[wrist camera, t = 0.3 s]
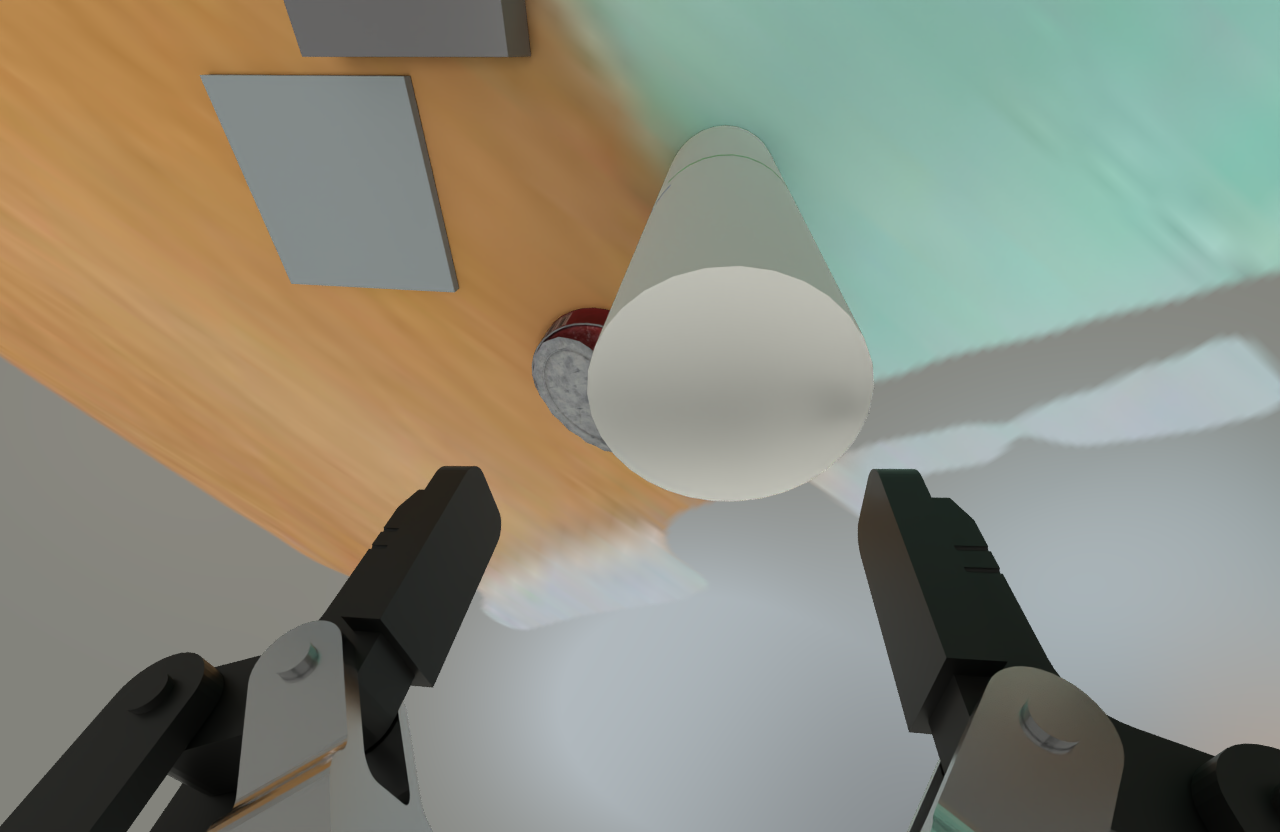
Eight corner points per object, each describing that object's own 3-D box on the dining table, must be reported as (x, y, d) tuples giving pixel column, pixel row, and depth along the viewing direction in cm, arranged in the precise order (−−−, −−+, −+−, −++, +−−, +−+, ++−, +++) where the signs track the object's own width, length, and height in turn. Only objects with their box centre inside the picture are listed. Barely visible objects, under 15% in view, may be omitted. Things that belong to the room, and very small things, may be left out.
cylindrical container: (646, 202, 34) (541, 421, 14) (710, 98, 30) (695, 196, 10) (728, 262, 35) (741, 534, 15) (799, 172, 31) (942, 382, 11)
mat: (209, 74, 32) (199, 75, 32) (410, 75, 31) (403, 76, 30) (298, 280, 41) (291, 283, 40) (458, 288, 39) (454, 292, 39)
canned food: (628, 381, 48) (591, 472, 44) (538, 325, 45) (489, 418, 40) (699, 341, 39) (661, 452, 35) (593, 266, 35) (536, 380, 31)
